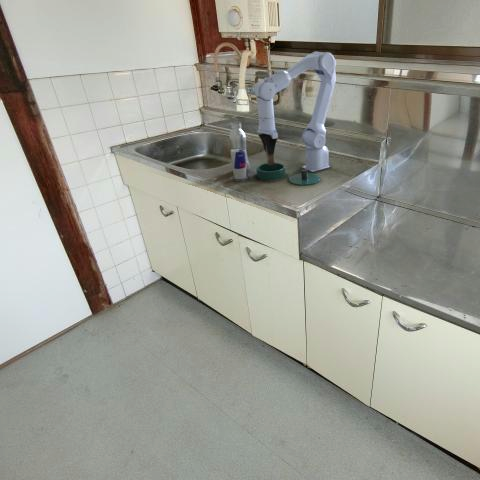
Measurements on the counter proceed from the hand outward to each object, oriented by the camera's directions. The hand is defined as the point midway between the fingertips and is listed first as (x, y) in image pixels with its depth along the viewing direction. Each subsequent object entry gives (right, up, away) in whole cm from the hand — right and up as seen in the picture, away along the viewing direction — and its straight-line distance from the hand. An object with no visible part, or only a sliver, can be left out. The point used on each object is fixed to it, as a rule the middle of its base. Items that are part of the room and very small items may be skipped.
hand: (269, 153), depth 140 cm
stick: (0, -4, +2) cm, 4 cm away
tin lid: (+14, -10, 0) cm, 17 cm away
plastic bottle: (-13, -5, +11) cm, 18 cm away
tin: (0, -8, +6) cm, 10 cm away
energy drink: (-12, -10, +3) cm, 16 cm away
